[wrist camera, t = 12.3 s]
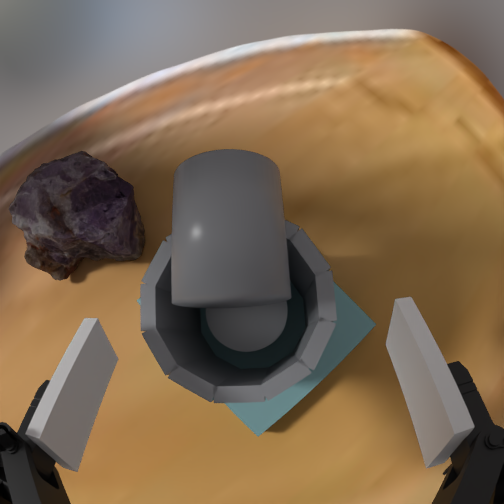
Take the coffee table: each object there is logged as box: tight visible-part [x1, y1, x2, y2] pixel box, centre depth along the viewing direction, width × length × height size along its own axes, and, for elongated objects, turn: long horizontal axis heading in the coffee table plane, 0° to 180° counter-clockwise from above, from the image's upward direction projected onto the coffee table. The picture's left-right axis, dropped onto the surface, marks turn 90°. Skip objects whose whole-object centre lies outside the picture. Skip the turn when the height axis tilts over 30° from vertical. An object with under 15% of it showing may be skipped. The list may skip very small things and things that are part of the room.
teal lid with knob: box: [137, 281, 376, 436], centre depth 22 cm, size 14×12×6 cm
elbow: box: [141, 149, 337, 403], centre depth 18 cm, size 11×9×12 cm
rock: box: [9, 151, 145, 280], centre depth 24 cm, size 12×9×10 cm
